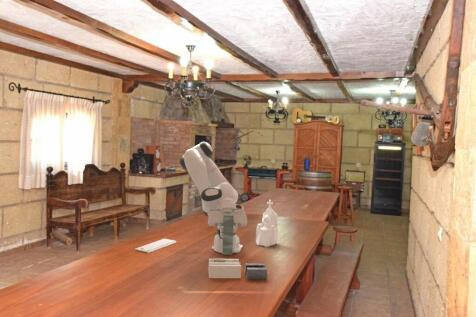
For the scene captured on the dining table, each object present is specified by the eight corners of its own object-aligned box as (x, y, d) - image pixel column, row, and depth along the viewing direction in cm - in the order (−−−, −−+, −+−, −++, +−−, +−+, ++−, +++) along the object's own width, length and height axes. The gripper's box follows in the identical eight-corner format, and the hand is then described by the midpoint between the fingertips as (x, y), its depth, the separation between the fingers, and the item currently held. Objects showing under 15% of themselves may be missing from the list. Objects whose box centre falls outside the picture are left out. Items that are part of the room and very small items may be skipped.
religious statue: (252, 245, 276) (254, 201, 274) (260, 240, 288) (261, 198, 286) (276, 249, 269) (278, 203, 267) (283, 244, 281) (285, 200, 279)
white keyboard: (178, 243, 274) (164, 240, 279) (179, 239, 274) (164, 236, 279) (150, 254, 246) (134, 251, 251) (150, 249, 246) (134, 246, 251)
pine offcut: (213, 271, 215) (214, 258, 215) (223, 271, 216) (223, 258, 215) (213, 273, 212) (214, 259, 212) (223, 273, 213) (224, 259, 212)
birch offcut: (224, 271, 216) (224, 260, 215) (233, 271, 216) (234, 260, 216) (224, 273, 213) (225, 261, 212) (234, 273, 213) (234, 261, 213)
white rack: (208, 271, 218) (208, 258, 217) (238, 271, 219) (238, 258, 219) (209, 279, 205) (209, 266, 204) (240, 280, 206) (241, 266, 206)
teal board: (222, 253, 209) (223, 214, 208) (232, 253, 209) (233, 214, 209) (222, 254, 207) (223, 215, 206) (232, 254, 207) (233, 215, 207)
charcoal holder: (244, 274, 215) (245, 263, 215) (263, 274, 216) (263, 263, 216) (247, 281, 205) (247, 269, 204) (266, 281, 206) (267, 269, 206)
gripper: (207, 205, 213) (207, 228, 203) (246, 206, 215) (248, 229, 206) (207, 212, 217) (207, 235, 208) (245, 213, 220) (247, 235, 211)
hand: (228, 232), depth 207 cm, fingers closed on teal board, 5 cm apart
